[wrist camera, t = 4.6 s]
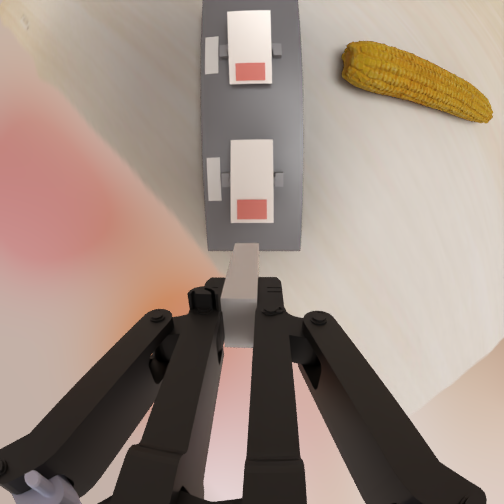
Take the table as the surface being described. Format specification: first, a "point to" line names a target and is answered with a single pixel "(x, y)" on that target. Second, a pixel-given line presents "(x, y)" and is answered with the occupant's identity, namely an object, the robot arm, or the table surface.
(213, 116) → the power strip
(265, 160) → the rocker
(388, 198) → the table surface
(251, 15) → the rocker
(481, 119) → the food
